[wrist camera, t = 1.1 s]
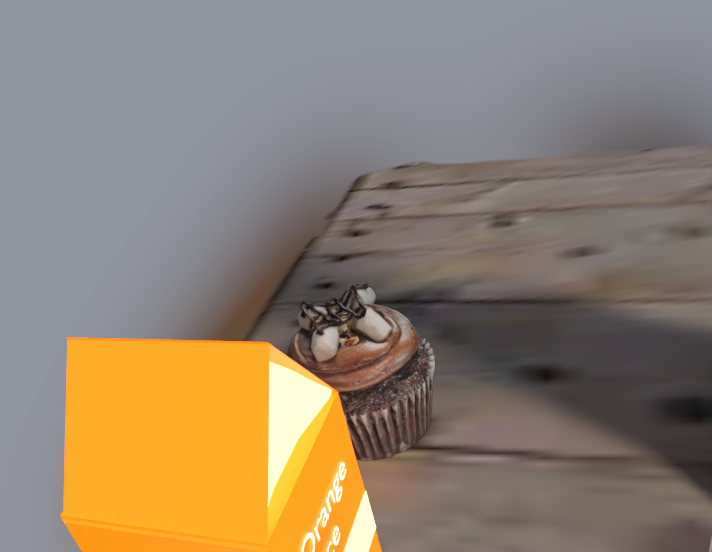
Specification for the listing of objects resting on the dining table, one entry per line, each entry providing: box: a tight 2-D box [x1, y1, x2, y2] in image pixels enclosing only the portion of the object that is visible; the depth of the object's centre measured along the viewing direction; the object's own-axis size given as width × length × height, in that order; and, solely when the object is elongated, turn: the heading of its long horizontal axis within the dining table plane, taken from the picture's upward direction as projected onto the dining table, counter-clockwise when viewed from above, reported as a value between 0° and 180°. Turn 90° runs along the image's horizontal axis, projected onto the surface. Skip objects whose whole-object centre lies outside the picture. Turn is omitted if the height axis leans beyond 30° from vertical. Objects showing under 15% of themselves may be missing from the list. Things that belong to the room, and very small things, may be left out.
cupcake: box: [288, 283, 435, 460], centre depth 45 cm, size 10×10×10 cm
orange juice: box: [60, 337, 382, 552], centre depth 29 cm, size 8×9×20 cm
